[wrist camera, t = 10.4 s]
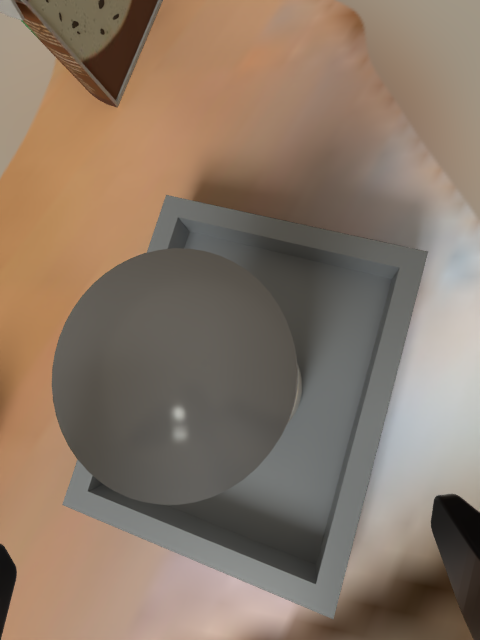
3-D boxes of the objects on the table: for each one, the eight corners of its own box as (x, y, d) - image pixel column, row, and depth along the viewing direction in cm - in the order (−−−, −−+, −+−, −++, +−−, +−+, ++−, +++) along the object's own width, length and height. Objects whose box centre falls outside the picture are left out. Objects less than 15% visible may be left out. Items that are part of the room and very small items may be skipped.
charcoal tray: (330, 585, 20) (333, 619, 17) (95, 490, 23) (62, 504, 20) (413, 270, 22) (427, 251, 19) (184, 218, 24) (166, 194, 22)
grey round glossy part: (267, 467, 20) (207, 562, 9) (171, 404, 22) (7, 412, 10) (327, 364, 21) (345, 322, 9) (228, 308, 22) (135, 209, 10)
